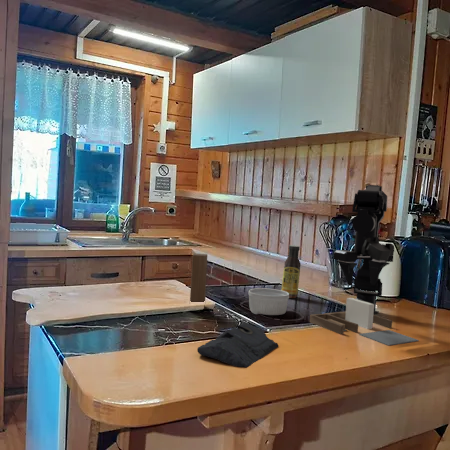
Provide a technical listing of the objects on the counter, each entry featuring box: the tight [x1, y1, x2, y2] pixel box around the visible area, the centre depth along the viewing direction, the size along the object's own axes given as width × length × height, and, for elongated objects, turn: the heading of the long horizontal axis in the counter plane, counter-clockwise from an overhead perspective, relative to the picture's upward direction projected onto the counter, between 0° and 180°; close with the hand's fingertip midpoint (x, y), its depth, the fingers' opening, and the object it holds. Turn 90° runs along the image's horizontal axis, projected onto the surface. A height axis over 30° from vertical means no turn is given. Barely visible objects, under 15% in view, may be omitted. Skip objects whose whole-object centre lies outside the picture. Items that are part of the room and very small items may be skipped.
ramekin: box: [248, 287, 290, 316], centre depth 150 cm, size 13×13×7 cm
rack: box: [309, 310, 393, 335], centre depth 138 cm, size 20×13×3 cm, turn 120°
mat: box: [358, 329, 420, 347], centre depth 127 cm, size 12×10×1 cm
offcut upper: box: [328, 319, 346, 330], centre depth 134 cm, size 3×6×2 cm, turn 28°
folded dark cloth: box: [197, 321, 279, 369], centre depth 112 cm, size 15×22×5 cm
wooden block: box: [189, 252, 208, 302], centre depth 150 cm, size 9×4×18 cm, turn 0°
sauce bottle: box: [280, 244, 301, 299], centre depth 177 cm, size 6×6×20 cm
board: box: [345, 297, 375, 330], centre depth 139 cm, size 2×9×8 cm, turn 30°
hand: (361, 284), depth 138 cm, fingers open, 9 cm apart
